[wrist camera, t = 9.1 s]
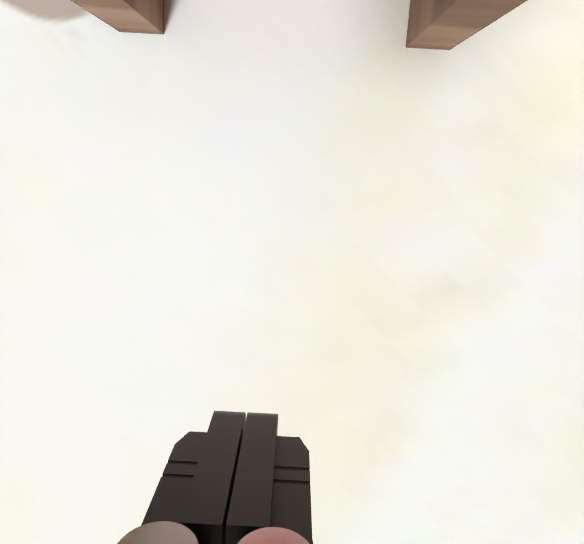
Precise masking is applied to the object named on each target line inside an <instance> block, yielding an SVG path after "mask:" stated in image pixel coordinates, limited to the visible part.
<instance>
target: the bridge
mask: <svg viewBox="0 0 584 544" xmlns="http://www.w3.org/2000/svg"><path fill="white" fill-rule="evenodd" d="M71 1H73V2H74V3H76V4H77V5H79V6H80V7H82V8H84V9H85V10H87V11H88V12H90V13H91V14H93V15H94V16H96V17H97V18H99V19H101V20H102V21H104V22H105V23H107V24H108V25H110V26H111V27H113V28H115V29H116V30H118V31H119V32H132V33H151V34H164V12H163V0H71ZM525 1H527V0H411V1H410V10H409V20H408V30H407V40H406V47H407V48H426V49H444V50H450V49H452V48H453V47H455V46H456V45H458V44H460V43H461V42H463V41H464V40H466V39H467V38H469V37H471V36H472V35H474V34H475V33H477V32H478V31H480V30H481V29H483V28H485V27H486V26H488V25H489V24H491V23H492V22H494V21H496V20H497V19H499V18H500V17H502V16H503V15H505V14H507V13H508V12H510V11H511V10H513V9H514V8H516V7H517V6H519V5H521V4H522V3H524V2H525Z"/></svg>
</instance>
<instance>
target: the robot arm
mask: <svg viewBox="0 0 584 544" xmlns="http://www.w3.org/2000/svg"><path fill="white" fill-rule="evenodd" d="M277 428H278V414H266V413H247V418H246V413H245V412H226V411H214V413H213V416H212V419H211V422H210V426H209V429H208V432H188V433H187V434H186V435H185V436H184V437H183V438H182V439H180V440H179V441H178V442H177V443H176V444H175V445H174V448H173V450H172V453H171V455H170V457H169V460H168V463H167V465H166V467H165V469H164V472H163V476H162V477H161V479H160V481H159V484H158V486H157V489H156V491H155V494H154V496H153V498H152V501H151V503H150V506H149V508H148V510H147V513H146V515H145V518H144V520H143V522H142V525H141V526H140V527H138V528H135V529H134V530H132V531H131V532H129V533H128V534H126V535H125V536H124V537H123V538H122V539H121V540H120V541H119V542H118V544H313V541H312V523H311V495H310V471H309V469H310V466H309V451H308V449H307V448H306V446H305V445H304V443H303V442H302V440H301V439H300V437H284V436H277Z"/></svg>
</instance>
